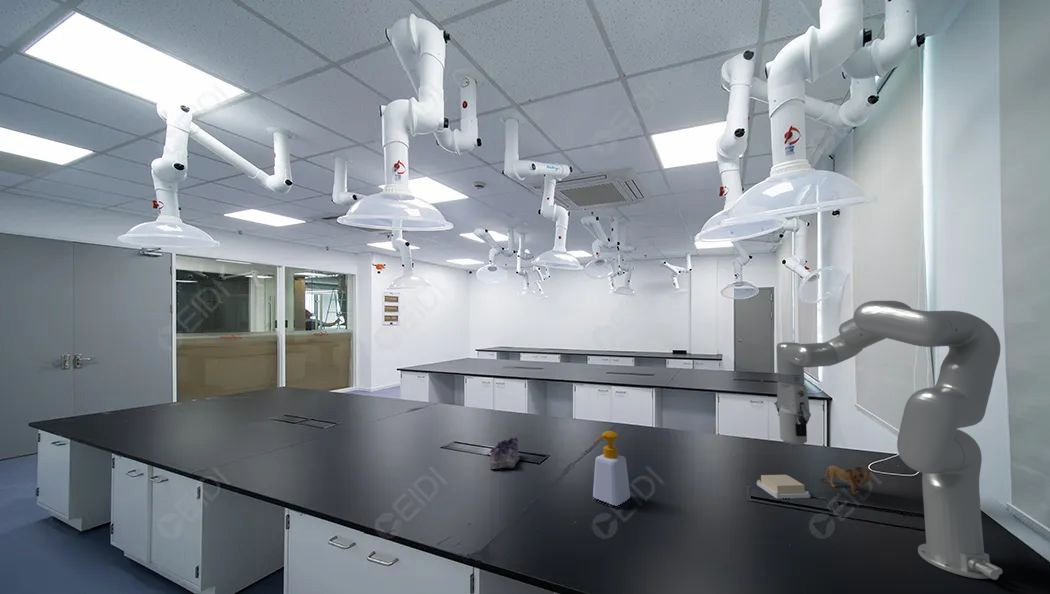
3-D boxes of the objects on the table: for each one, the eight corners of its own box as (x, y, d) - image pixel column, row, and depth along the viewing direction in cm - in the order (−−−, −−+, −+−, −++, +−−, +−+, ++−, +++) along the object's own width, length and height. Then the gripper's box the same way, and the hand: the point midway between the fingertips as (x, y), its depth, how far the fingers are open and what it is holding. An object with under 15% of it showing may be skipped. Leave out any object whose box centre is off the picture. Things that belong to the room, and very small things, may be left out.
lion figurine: (875, 494, 133) (873, 466, 134) (869, 498, 130) (867, 470, 131) (823, 480, 145) (821, 454, 146) (816, 483, 142) (815, 457, 143)
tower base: (810, 498, 131) (809, 486, 132) (776, 498, 131) (776, 487, 131) (787, 484, 142) (787, 473, 143) (756, 484, 142) (756, 474, 142)
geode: (497, 454, 179) (500, 432, 180) (522, 459, 177) (525, 436, 178) (484, 469, 159) (487, 444, 160) (512, 475, 157) (515, 449, 158)
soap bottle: (583, 504, 129) (581, 434, 130) (607, 491, 139) (605, 425, 140) (608, 514, 123) (606, 440, 124) (632, 499, 132) (630, 430, 134)
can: (807, 447, 130) (806, 409, 131) (780, 443, 134) (778, 406, 135) (806, 440, 136) (805, 404, 137) (780, 437, 140) (778, 402, 141)
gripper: (820, 383, 127) (823, 440, 127) (785, 375, 145) (787, 425, 144) (797, 383, 127) (799, 440, 127) (764, 375, 145) (766, 425, 144)
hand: (792, 432), depth 135 cm, fingers closed on can, 7 cm apart
